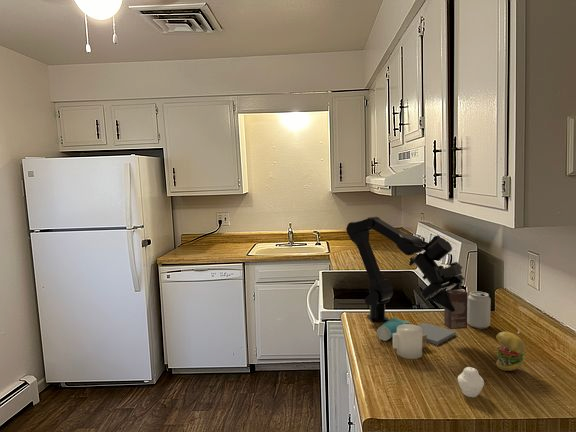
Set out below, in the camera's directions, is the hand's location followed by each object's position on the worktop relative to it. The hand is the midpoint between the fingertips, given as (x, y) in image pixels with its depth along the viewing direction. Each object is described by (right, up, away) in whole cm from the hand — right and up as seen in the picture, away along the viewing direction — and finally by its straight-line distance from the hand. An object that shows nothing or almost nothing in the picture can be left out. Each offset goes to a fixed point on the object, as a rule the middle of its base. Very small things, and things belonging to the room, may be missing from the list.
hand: (459, 308), depth 133 cm
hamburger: (+7, -14, -16) cm, 23 cm away
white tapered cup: (-18, -13, -5) cm, 22 cm away
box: (-1, -7, +2) cm, 7 cm away
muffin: (-9, -15, -29) cm, 34 cm away
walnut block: (-13, -12, +1) cm, 18 cm away
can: (+14, -10, +17) cm, 24 cm away
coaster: (-6, -11, +9) cm, 16 cm away
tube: (-24, -9, +4) cm, 26 cm away
